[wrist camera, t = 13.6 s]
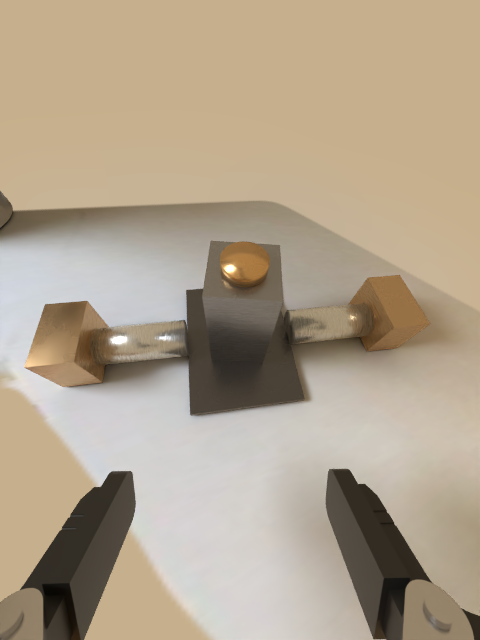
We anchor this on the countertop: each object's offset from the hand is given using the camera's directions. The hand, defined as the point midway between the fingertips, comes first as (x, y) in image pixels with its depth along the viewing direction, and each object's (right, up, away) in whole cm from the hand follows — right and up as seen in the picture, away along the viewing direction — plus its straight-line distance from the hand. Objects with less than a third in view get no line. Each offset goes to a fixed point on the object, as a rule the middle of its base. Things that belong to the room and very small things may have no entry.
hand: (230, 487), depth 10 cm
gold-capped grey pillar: (0, +5, +12) cm, 13 cm away
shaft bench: (0, +5, +12) cm, 13 cm away
